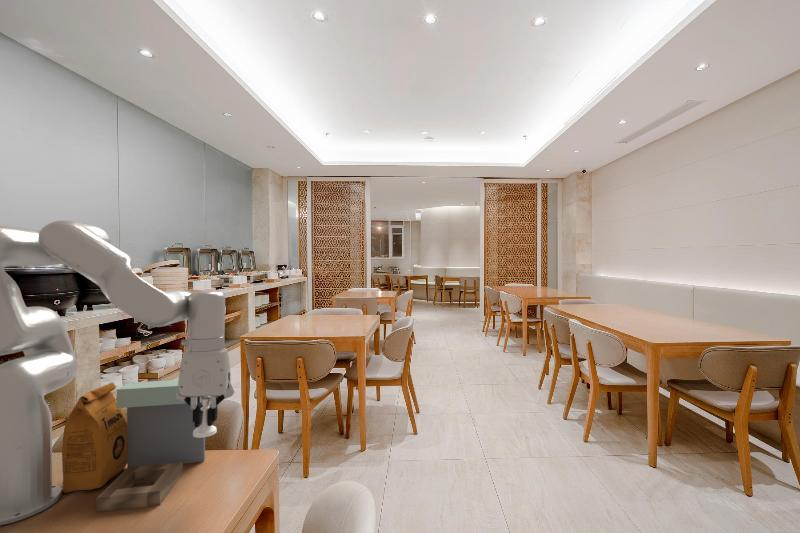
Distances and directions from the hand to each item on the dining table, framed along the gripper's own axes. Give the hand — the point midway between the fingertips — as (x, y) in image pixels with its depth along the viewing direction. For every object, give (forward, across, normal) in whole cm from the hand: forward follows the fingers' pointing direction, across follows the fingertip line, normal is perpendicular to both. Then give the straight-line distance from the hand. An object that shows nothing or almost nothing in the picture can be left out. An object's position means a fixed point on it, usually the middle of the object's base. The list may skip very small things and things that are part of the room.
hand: (205, 423), depth 85 cm
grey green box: (+15, -13, +11) cm, 23 cm away
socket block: (+15, -13, +1) cm, 20 cm away
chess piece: (+2, 0, 0) cm, 2 cm away
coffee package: (+16, -26, +9) cm, 32 cm away
